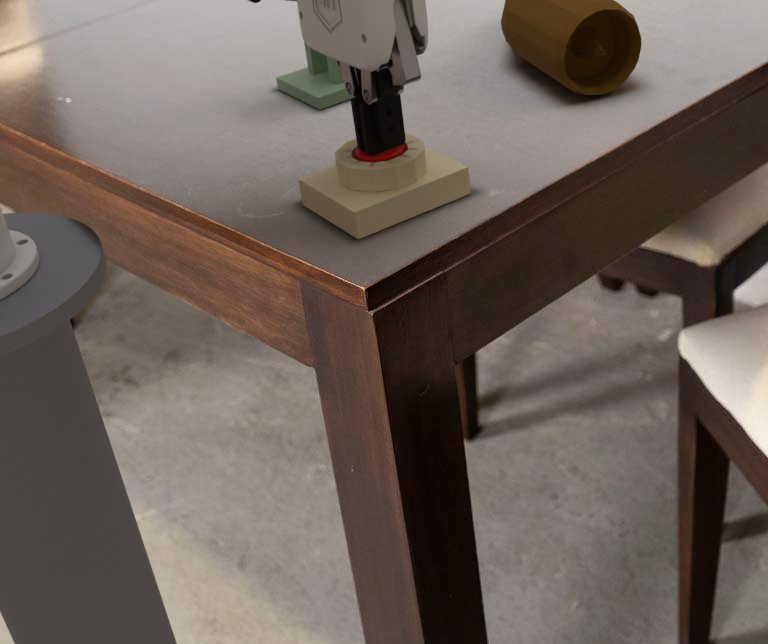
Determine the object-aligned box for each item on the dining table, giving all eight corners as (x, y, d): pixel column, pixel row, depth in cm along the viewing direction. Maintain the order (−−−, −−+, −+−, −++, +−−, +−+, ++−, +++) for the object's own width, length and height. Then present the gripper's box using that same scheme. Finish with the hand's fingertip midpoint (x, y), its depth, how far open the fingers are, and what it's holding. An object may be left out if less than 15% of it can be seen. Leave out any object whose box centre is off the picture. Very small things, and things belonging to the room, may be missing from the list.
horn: (523, 41, 116) (643, 117, 96) (439, 12, 112) (546, 86, 92) (554, -35, 113) (684, 28, 93) (469, -67, 108) (586, -9, 88)
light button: (374, 184, 80) (371, 162, 79) (348, 170, 82) (345, 148, 81) (415, 168, 81) (413, 146, 80) (388, 155, 84) (386, 133, 83)
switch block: (358, 240, 78) (350, 188, 76) (302, 205, 84) (293, 156, 82) (470, 193, 82) (466, 143, 80) (410, 163, 88) (405, 115, 86)
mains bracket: (319, 110, 100) (302, 0, 94) (277, 89, 106) (259, -15, 100) (410, 78, 104) (399, -29, 98) (365, 60, 110) (351, -42, 104)
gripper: (241, -120, 74) (288, 136, 85) (358, -96, 63) (396, 195, 74) (335, -144, 77) (370, 107, 88) (463, -125, 66) (485, 159, 77)
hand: (382, 146), depth 81 cm, fingers closed
